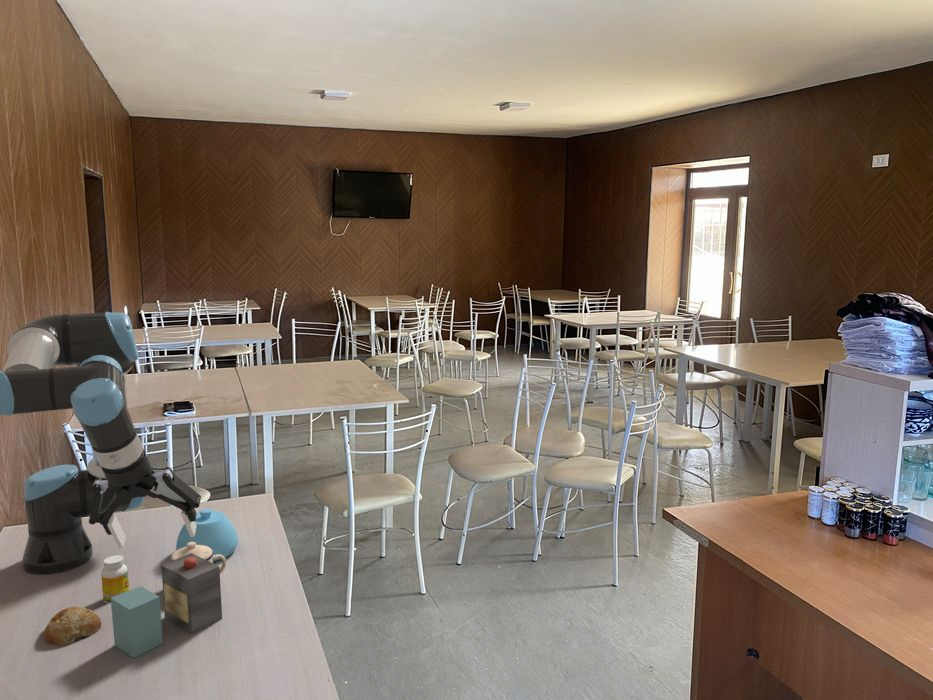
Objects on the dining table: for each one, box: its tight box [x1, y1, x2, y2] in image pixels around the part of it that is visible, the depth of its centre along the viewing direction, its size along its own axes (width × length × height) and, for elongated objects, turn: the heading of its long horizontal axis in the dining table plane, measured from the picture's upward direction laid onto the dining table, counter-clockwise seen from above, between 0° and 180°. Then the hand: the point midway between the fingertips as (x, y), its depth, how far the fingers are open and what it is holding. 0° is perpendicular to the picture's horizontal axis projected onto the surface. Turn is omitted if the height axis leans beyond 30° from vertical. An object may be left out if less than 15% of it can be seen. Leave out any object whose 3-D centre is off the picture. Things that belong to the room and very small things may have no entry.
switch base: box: [160, 553, 223, 634], centre depth 141 cm, size 12×22×14 cm, turn 144°
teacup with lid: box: [170, 542, 227, 575], centre depth 162 cm, size 12×9×12 cm
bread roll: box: [43, 606, 102, 646], centre depth 143 cm, size 10×10×8 cm
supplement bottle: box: [100, 554, 130, 605], centre depth 158 cm, size 5×5×10 cm
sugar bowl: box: [175, 508, 239, 563], centre depth 180 cm, size 15×15×12 cm
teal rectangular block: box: [110, 585, 164, 659], centre depth 138 cm, size 7×6×10 cm
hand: (158, 537), depth 139 cm, fingers open, 13 cm apart
